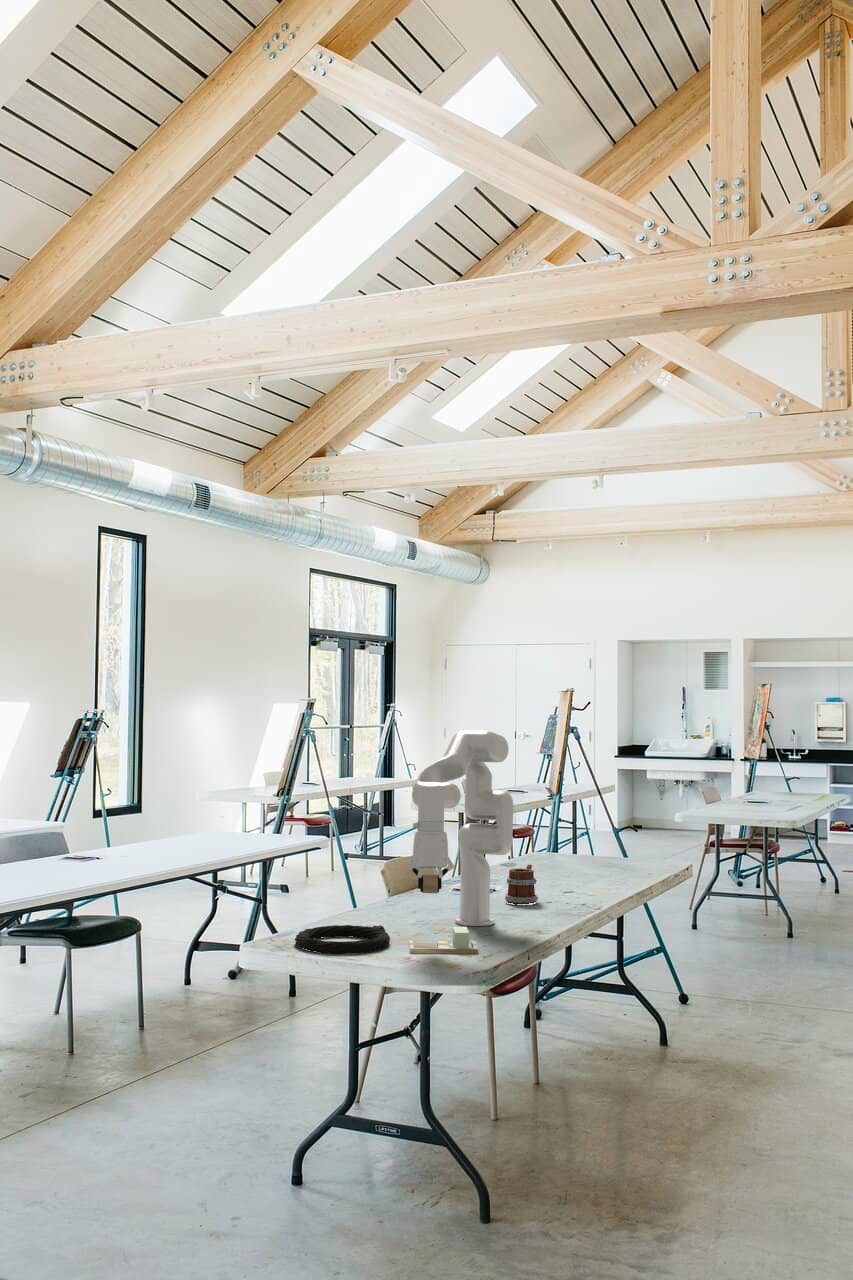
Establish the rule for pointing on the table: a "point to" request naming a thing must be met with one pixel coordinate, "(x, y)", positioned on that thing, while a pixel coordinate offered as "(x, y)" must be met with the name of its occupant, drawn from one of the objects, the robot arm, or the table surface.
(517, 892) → the mug
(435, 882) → the walnut bar
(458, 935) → the sage bar
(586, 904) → the table surface
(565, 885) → the table surface
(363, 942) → the cable lock
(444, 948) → the oak rack
